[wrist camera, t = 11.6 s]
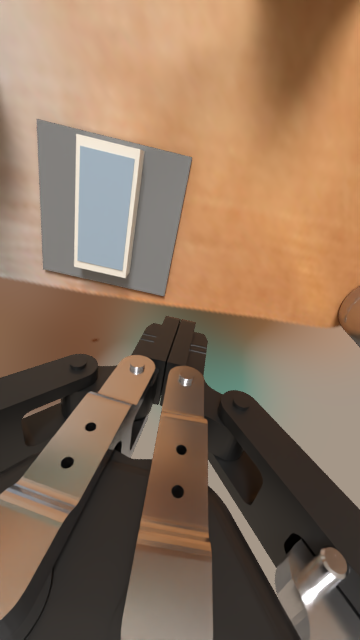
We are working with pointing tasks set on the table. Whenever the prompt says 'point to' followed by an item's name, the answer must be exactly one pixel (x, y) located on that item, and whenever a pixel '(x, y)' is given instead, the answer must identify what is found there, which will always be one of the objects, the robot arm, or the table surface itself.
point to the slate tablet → (106, 204)
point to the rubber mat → (152, 214)
